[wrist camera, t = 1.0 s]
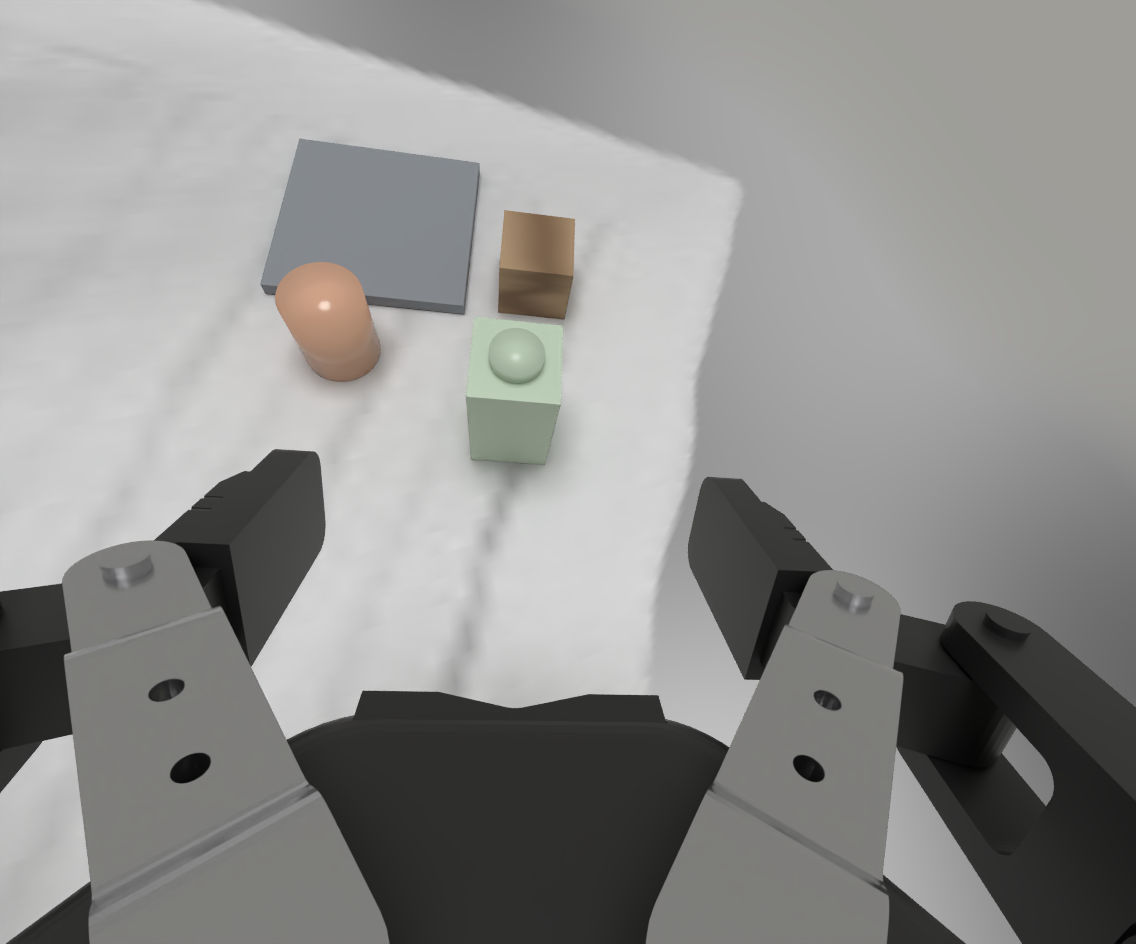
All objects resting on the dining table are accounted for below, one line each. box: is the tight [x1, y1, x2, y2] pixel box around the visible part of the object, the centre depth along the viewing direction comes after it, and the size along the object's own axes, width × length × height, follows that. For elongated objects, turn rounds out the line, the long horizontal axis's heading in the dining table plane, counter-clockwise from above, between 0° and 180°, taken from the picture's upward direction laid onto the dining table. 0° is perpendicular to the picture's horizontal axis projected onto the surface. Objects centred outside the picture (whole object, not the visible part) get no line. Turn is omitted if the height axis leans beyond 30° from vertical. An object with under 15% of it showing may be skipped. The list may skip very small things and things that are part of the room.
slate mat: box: [260, 139, 480, 314], centre depth 43 cm, size 14×14×1 cm
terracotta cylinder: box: [275, 262, 381, 382], centre depth 36 cm, size 5×5×6 cm
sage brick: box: [466, 317, 563, 465], centre depth 34 cm, size 5×5×10 cm
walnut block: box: [498, 210, 575, 319], centre depth 41 cm, size 5×5×5 cm
